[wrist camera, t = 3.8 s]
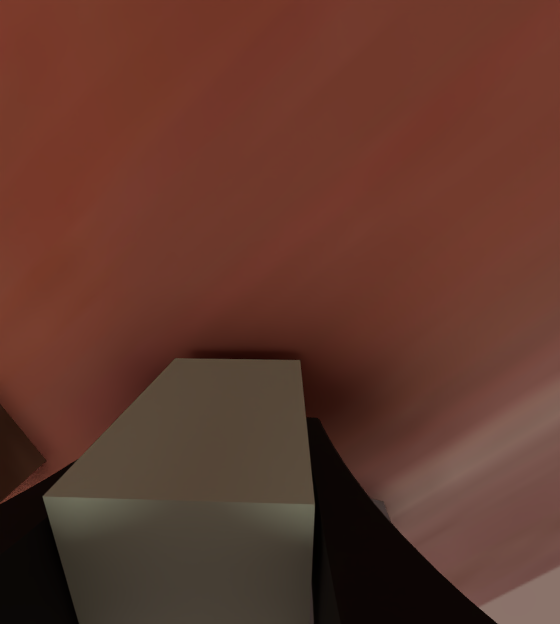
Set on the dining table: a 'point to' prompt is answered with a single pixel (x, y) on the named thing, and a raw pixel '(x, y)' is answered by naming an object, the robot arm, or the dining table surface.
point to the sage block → (194, 502)
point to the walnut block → (15, 455)
